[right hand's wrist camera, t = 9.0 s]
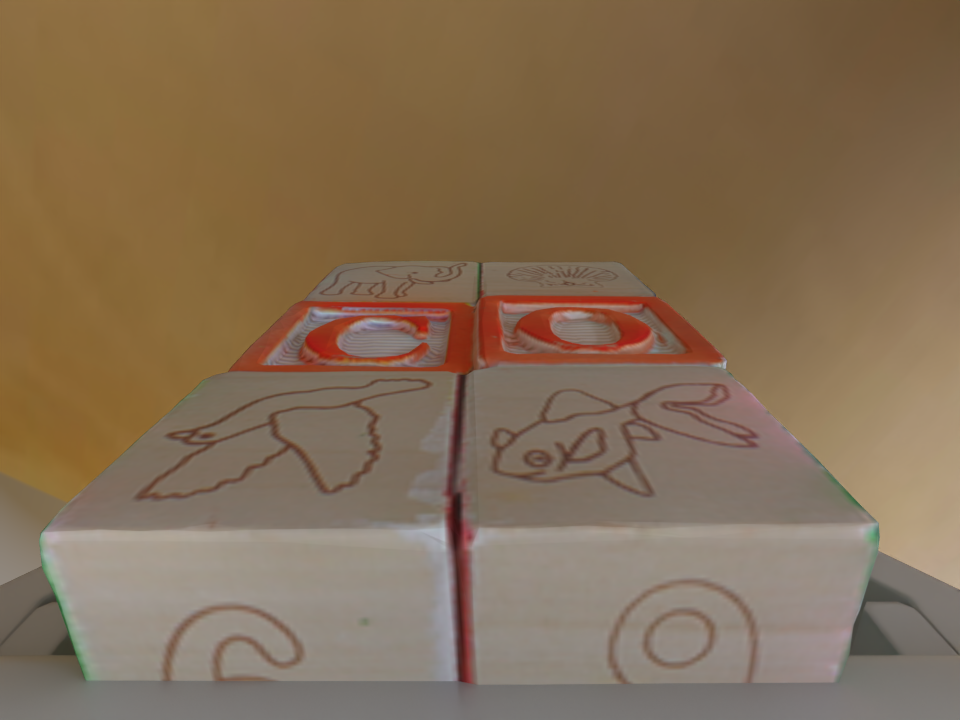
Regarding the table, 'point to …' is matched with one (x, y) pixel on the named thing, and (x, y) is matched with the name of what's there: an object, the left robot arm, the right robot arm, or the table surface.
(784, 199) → the table surface
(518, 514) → the stack of blocks
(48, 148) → the table surface
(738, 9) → the table surface
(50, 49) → the table surface
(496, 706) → the right robot arm
